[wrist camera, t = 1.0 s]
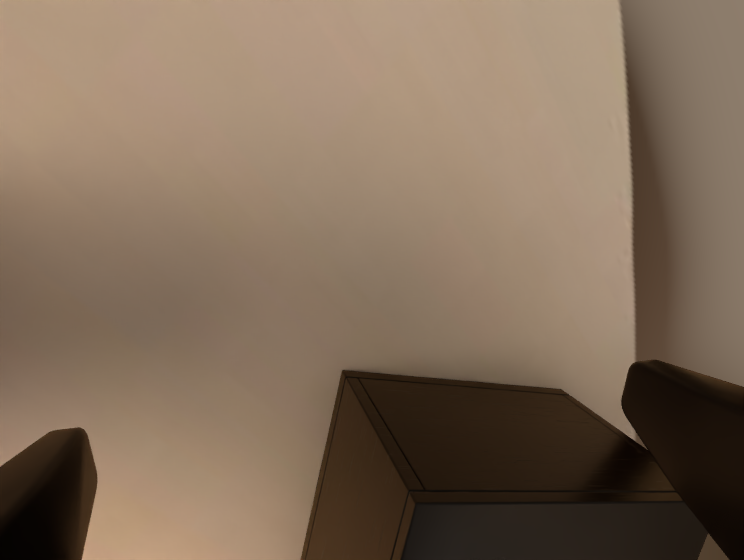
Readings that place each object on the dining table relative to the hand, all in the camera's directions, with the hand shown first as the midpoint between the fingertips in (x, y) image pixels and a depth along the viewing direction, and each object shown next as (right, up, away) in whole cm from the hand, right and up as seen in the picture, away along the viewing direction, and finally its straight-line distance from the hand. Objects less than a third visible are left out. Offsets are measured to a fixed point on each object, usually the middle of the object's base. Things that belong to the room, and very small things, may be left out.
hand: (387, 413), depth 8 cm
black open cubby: (+3, -9, +19) cm, 21 cm away
